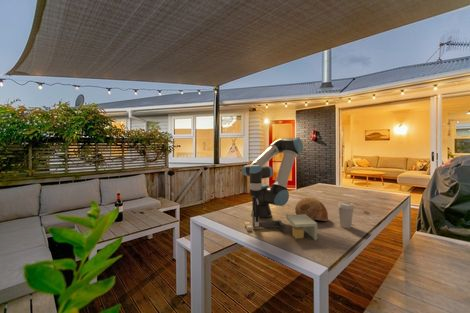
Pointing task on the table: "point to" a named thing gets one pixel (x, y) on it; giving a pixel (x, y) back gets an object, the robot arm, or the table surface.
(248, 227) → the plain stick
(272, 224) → the crook
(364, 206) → the table surface
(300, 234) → the cube
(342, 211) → the coffee cup
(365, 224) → the table surface
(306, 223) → the beige angled piece
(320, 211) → the seashell
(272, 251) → the table surface
